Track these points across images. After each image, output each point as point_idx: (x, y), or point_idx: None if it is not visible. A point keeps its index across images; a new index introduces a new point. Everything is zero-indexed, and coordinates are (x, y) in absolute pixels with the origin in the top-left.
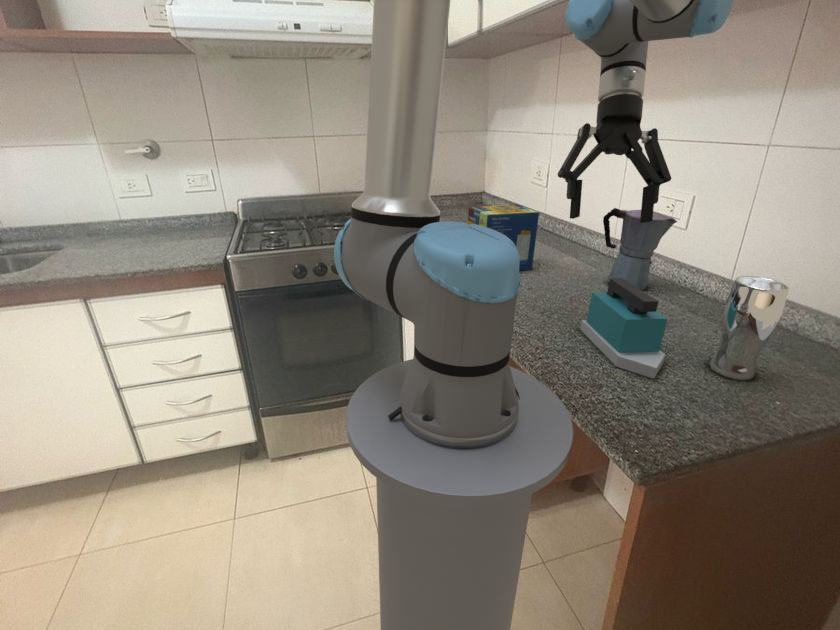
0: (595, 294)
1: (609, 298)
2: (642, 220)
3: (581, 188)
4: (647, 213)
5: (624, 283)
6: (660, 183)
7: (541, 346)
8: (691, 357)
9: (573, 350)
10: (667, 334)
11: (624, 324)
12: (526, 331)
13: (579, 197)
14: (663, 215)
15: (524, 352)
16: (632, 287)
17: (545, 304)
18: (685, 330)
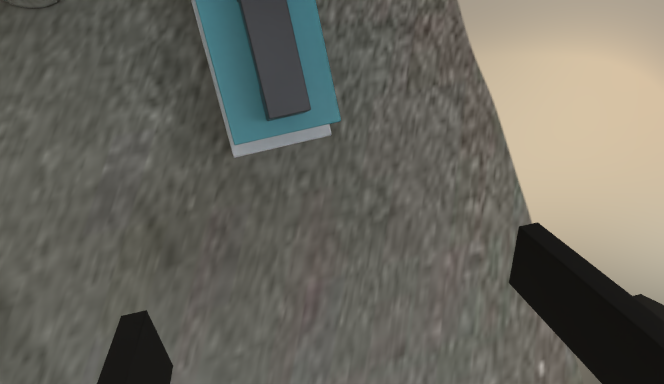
0: (336, 103)
1: (304, 77)
2: (164, 360)
3: (651, 334)
4: (142, 357)
5: (278, 62)
6: None
7: (417, 40)
8: (102, 22)
9: (358, 29)
10: (122, 142)
11: None
12: (436, 107)
13: (604, 287)
14: None
15: (451, 9)
16: (262, 26)
17: (378, 263)
18: (64, 175)
